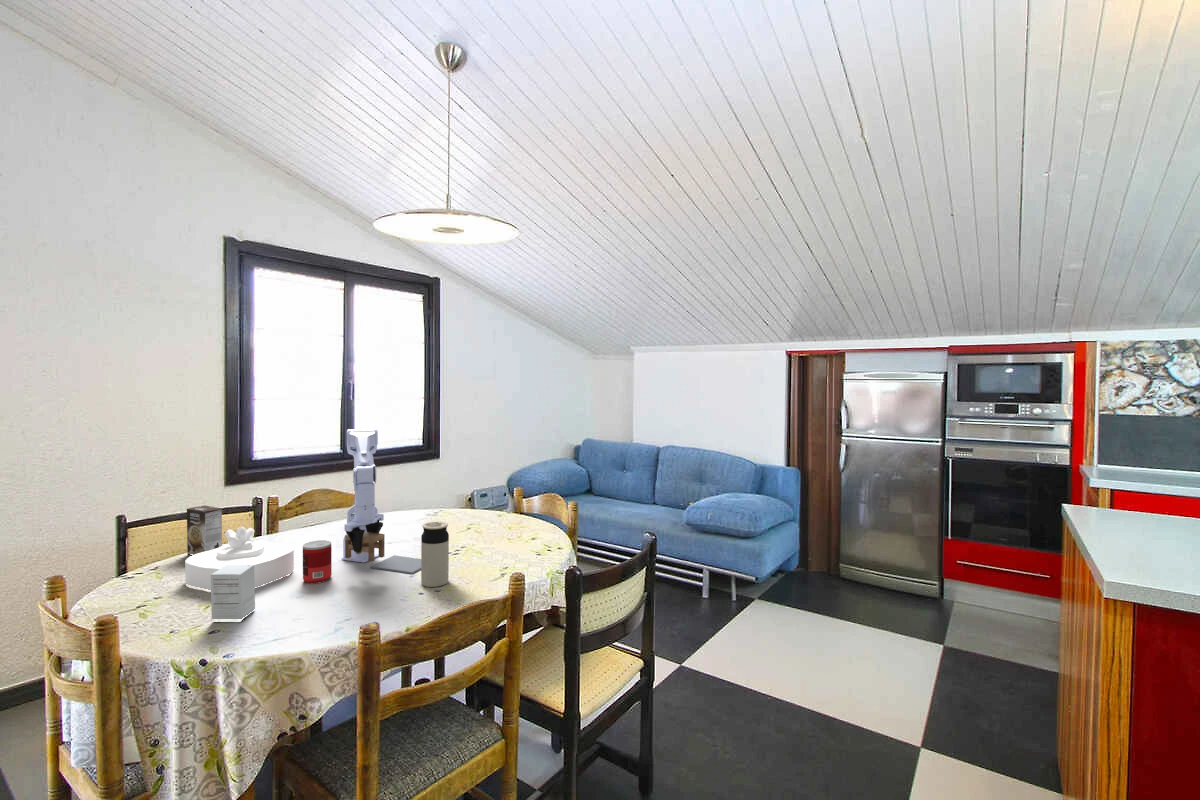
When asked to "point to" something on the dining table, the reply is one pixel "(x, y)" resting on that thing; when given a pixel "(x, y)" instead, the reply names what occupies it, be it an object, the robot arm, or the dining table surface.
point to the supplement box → (232, 592)
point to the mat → (399, 564)
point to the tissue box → (241, 559)
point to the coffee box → (203, 529)
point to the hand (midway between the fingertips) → (364, 548)
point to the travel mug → (434, 554)
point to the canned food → (317, 561)
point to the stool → (367, 545)
